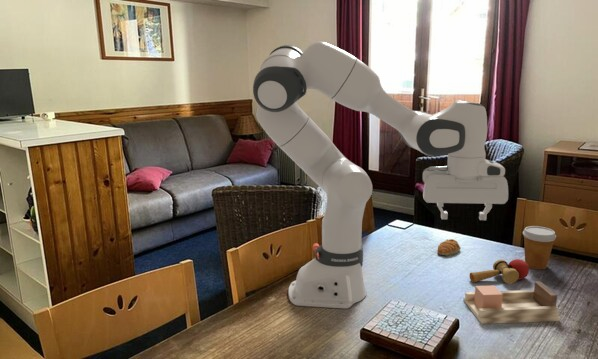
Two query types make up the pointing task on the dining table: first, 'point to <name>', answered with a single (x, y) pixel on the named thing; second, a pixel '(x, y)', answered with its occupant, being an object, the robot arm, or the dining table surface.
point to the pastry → (448, 247)
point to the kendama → (504, 271)
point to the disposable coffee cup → (538, 246)
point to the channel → (519, 306)
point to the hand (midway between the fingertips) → (463, 219)
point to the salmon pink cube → (487, 297)
